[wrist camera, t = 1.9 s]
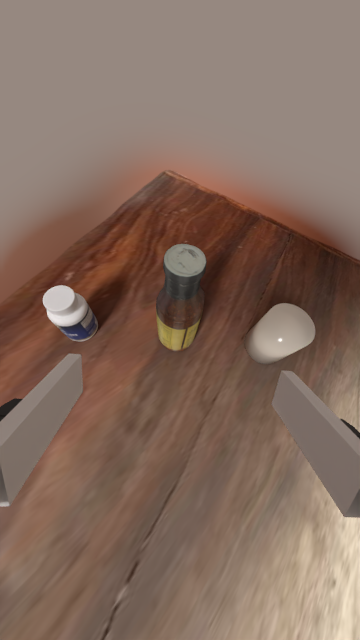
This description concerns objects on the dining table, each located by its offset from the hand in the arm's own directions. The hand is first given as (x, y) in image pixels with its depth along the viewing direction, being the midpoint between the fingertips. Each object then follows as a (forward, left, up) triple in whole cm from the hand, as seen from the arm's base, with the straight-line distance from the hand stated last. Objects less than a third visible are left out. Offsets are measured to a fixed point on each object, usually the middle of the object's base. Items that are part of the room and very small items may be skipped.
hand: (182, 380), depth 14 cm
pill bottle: (-2, -20, -21) cm, 28 cm away
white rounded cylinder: (-18, +8, -20) cm, 28 cm away
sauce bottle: (-10, -6, -21) cm, 24 cm away
